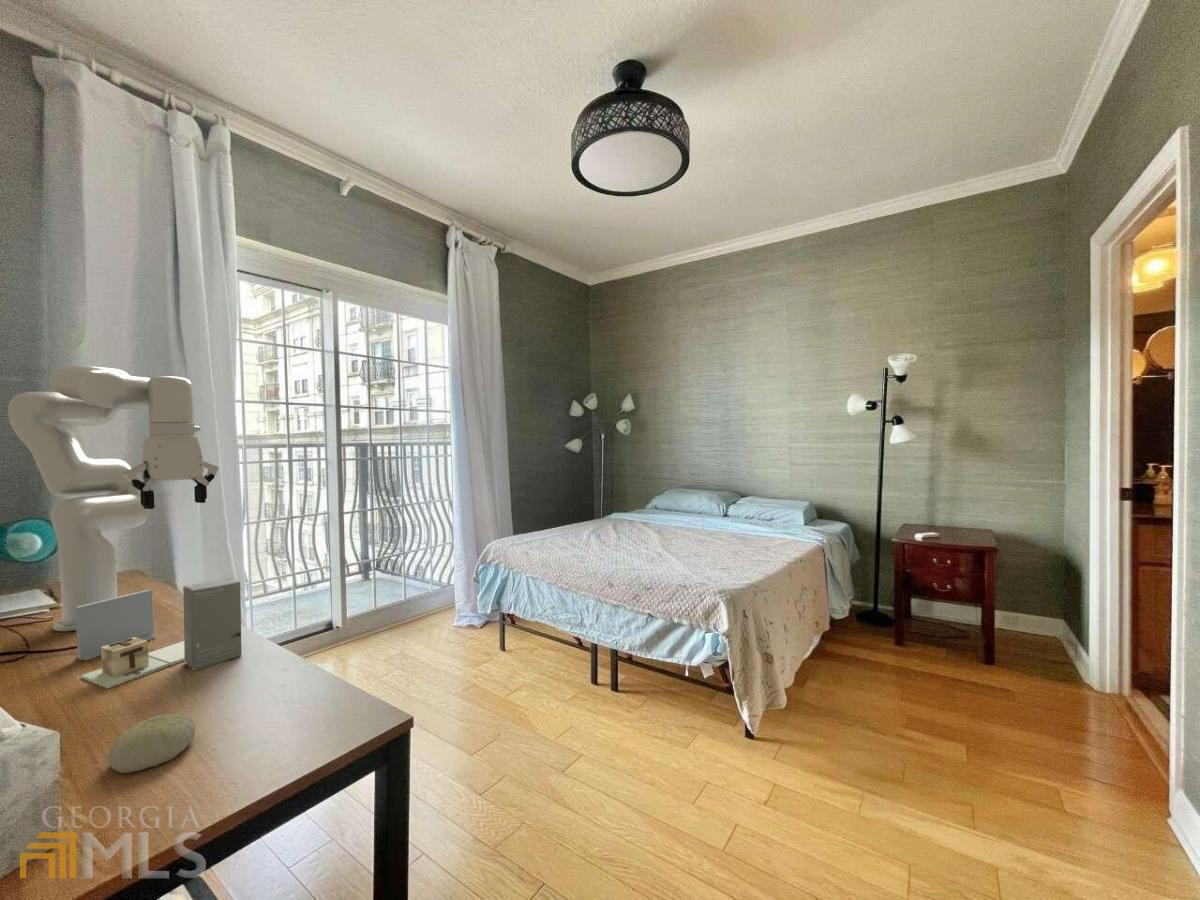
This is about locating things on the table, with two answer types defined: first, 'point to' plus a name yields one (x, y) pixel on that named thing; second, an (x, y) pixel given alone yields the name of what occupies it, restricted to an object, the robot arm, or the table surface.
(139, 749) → the sea urchin shell
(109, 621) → the screen
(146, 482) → the robot arm
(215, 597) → the skincare box
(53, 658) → the table surface
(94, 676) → the pad
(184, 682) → the table surface
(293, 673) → the table surface
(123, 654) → the letter cube
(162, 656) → the pad
